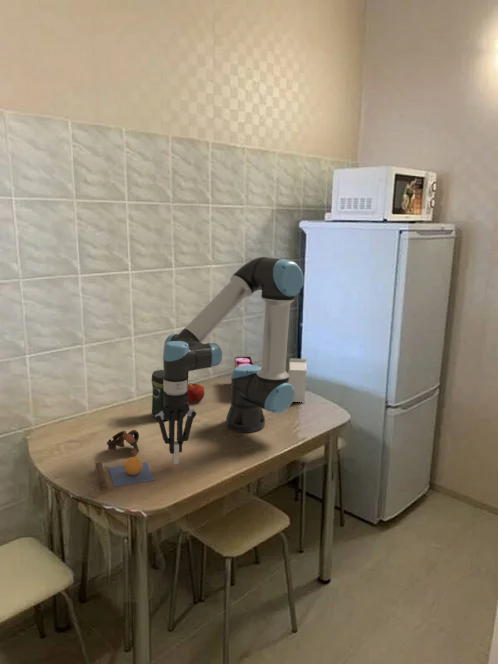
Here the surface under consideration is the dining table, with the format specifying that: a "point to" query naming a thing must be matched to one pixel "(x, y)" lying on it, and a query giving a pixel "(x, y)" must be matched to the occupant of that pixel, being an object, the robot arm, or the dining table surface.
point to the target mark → (123, 478)
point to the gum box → (242, 361)
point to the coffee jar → (158, 392)
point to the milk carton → (298, 378)
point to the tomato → (195, 392)
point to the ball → (133, 466)
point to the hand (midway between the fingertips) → (175, 461)
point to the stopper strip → (101, 475)
